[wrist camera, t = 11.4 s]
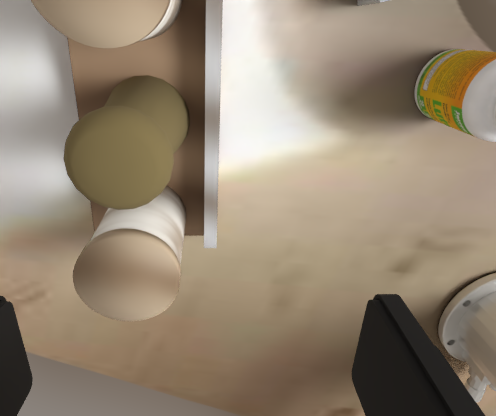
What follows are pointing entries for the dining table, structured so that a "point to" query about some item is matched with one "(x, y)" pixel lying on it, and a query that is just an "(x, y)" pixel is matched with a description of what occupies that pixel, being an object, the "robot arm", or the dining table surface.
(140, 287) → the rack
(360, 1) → the grey rectangular block
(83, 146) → the cork
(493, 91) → the supplement bottle
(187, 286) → the dining table surface
